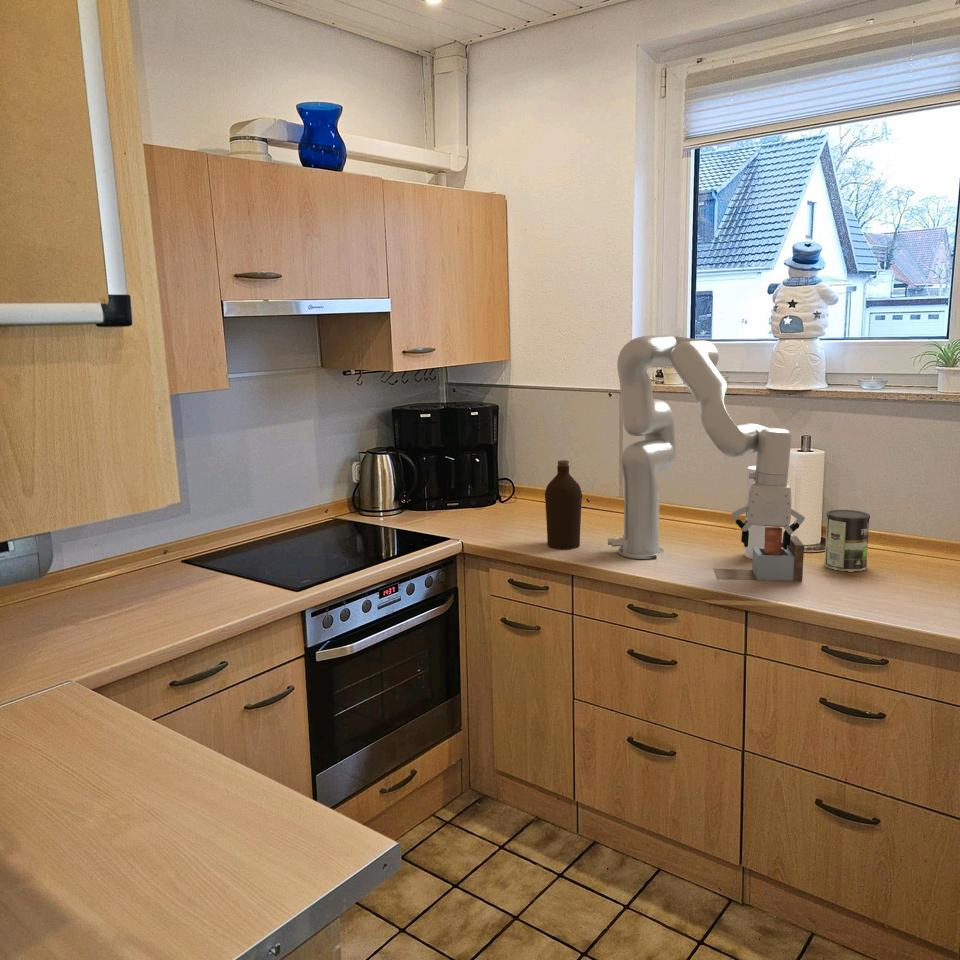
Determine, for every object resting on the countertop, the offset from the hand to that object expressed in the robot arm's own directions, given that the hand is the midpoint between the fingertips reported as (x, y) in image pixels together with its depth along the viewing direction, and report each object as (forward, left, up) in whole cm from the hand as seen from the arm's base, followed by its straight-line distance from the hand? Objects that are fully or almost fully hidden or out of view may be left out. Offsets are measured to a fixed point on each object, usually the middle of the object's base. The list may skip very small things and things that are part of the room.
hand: (764, 546), depth 211 cm
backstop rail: (-2, 0, -8) cm, 8 cm away
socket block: (+2, 0, -7) cm, 7 cm away
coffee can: (+22, +13, -8) cm, 27 cm away
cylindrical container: (+1, +18, -8) cm, 20 cm away
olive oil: (-52, +28, -8) cm, 59 cm away
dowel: (+2, 0, -7) cm, 7 cm away
